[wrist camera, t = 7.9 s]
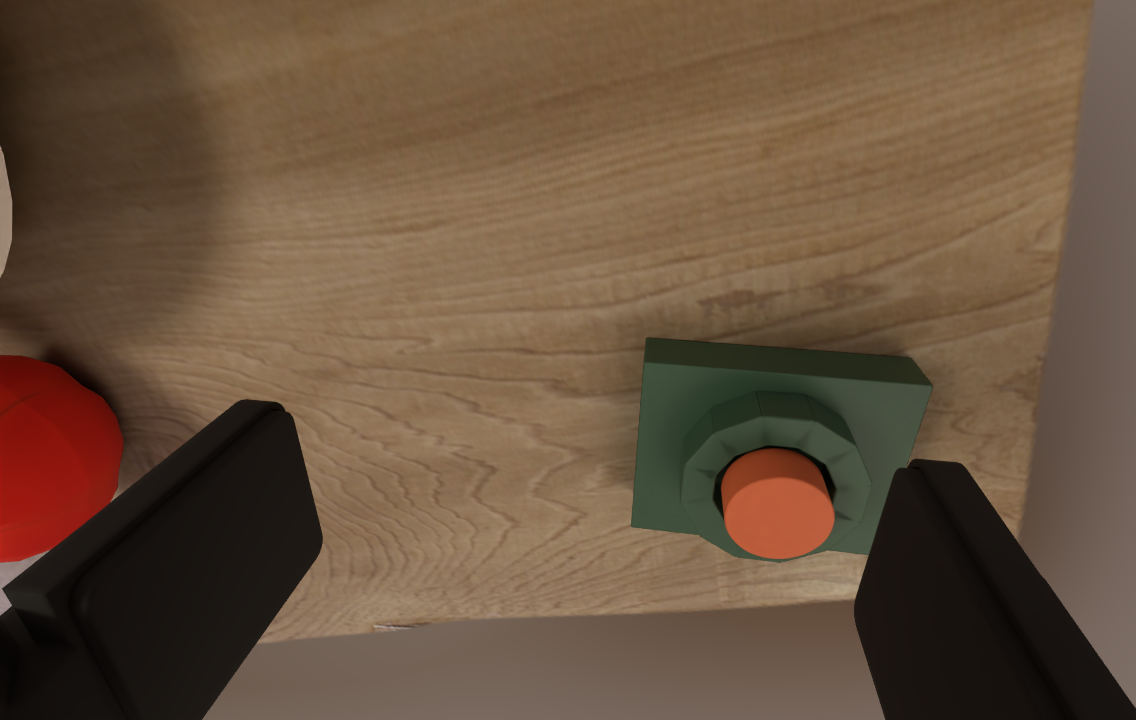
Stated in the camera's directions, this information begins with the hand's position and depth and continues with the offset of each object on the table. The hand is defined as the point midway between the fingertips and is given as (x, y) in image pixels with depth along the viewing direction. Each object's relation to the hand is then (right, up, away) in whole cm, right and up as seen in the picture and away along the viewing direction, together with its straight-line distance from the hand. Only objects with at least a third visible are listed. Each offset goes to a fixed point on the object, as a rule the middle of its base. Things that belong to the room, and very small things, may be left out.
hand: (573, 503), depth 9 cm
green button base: (+8, -1, +16) cm, 18 cm away
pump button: (+7, -2, +12) cm, 15 cm away
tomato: (-26, -1, +22) cm, 34 cm away
